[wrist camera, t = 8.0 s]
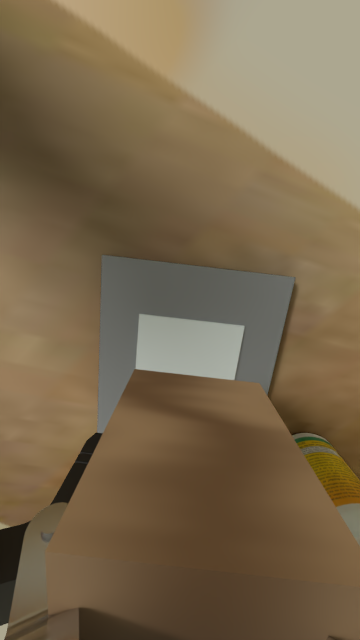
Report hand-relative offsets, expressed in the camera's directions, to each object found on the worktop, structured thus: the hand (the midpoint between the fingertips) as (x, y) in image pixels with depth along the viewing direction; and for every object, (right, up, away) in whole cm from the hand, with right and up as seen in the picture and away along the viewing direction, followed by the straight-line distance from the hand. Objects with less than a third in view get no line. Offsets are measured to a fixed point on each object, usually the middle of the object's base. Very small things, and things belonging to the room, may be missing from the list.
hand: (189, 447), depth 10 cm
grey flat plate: (0, +2, +9) cm, 9 cm away
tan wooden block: (0, 0, +1) cm, 1 cm away
